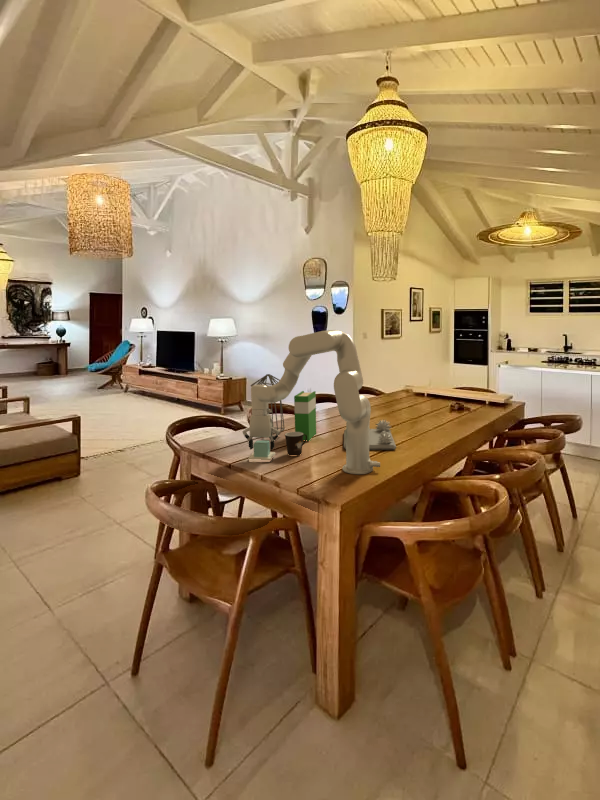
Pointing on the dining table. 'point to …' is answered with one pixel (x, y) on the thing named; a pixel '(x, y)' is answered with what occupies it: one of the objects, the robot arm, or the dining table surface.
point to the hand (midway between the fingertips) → (261, 448)
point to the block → (261, 448)
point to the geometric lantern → (271, 403)
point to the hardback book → (305, 414)
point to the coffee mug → (294, 442)
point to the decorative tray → (379, 437)
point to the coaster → (263, 457)
